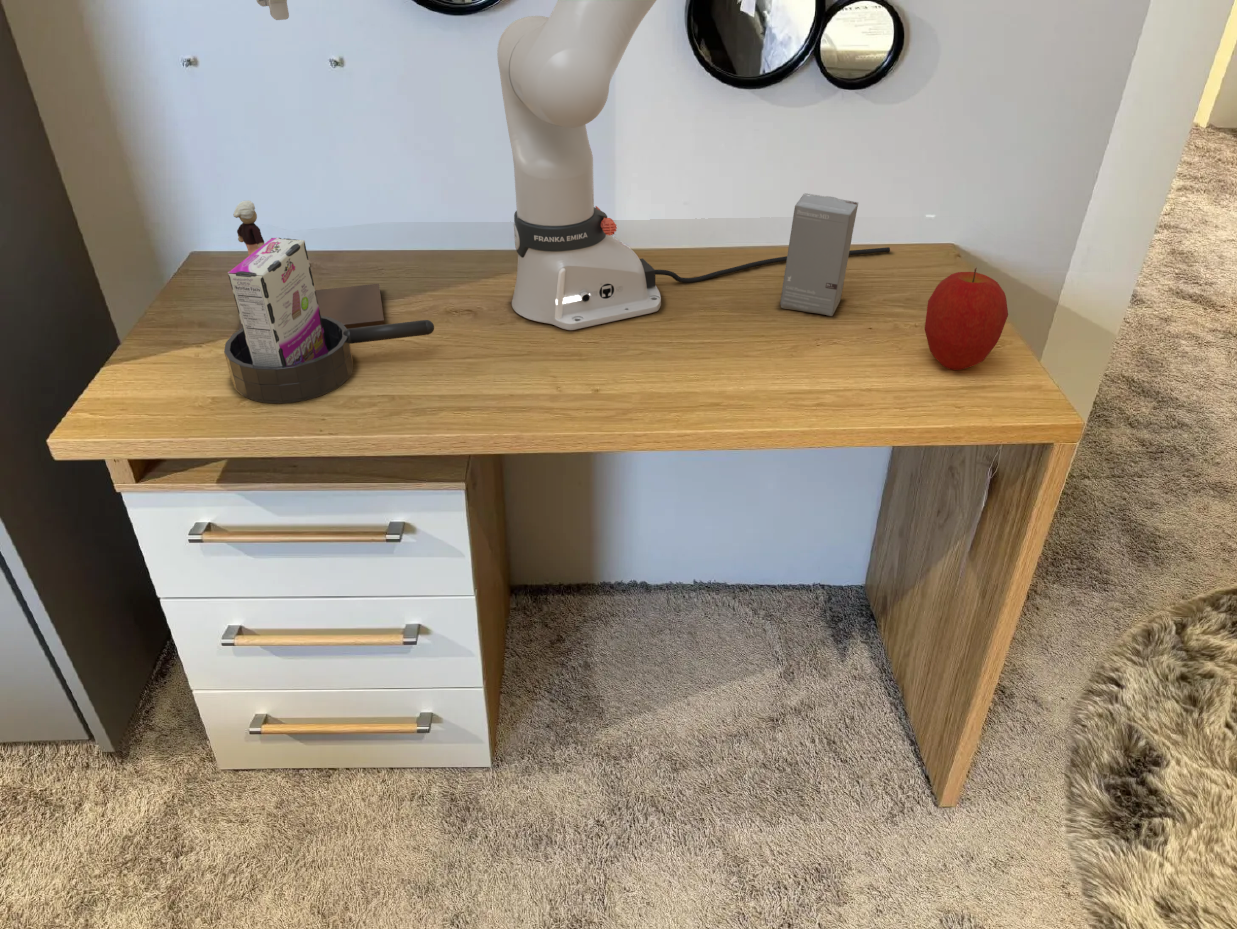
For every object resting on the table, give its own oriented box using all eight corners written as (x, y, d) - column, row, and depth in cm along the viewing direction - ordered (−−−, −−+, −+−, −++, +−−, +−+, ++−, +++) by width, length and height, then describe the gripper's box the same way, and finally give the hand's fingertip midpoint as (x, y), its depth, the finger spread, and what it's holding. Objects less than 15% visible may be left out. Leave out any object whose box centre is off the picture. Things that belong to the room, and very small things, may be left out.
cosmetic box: (779, 309, 143) (789, 205, 134) (790, 290, 149) (801, 190, 140) (835, 318, 141) (850, 213, 132) (845, 299, 146) (859, 197, 137)
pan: (351, 340, 135) (345, 308, 132) (355, 394, 123) (349, 360, 120) (237, 353, 132) (228, 320, 129) (229, 410, 120) (220, 375, 117)
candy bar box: (296, 349, 132) (271, 235, 123) (329, 352, 131) (307, 238, 122) (255, 389, 123) (225, 270, 114) (291, 393, 122) (263, 274, 113)
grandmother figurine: (287, 279, 152) (271, 201, 145) (268, 288, 149) (250, 209, 142) (255, 269, 156) (237, 192, 148) (235, 277, 153) (216, 200, 146)
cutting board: (380, 292, 148) (378, 283, 147) (385, 329, 138) (383, 319, 137) (245, 306, 144) (242, 297, 143) (239, 346, 134) (237, 336, 133)
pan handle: (434, 329, 130) (432, 316, 129) (435, 336, 129) (434, 322, 127) (343, 340, 128) (341, 326, 127) (344, 347, 126) (341, 333, 125)
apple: (1008, 379, 126) (1034, 281, 118) (935, 385, 125) (957, 286, 117) (972, 343, 134) (994, 248, 126) (904, 348, 133) (922, 253, 125)
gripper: (295, -123, 97) (319, 25, 105) (261, -134, 112) (284, -4, 120) (230, -122, 94) (259, 30, 102) (204, -133, 110) (232, 0, 117)
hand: (273, 11), depth 111 cm, fingers open, 8 cm apart
